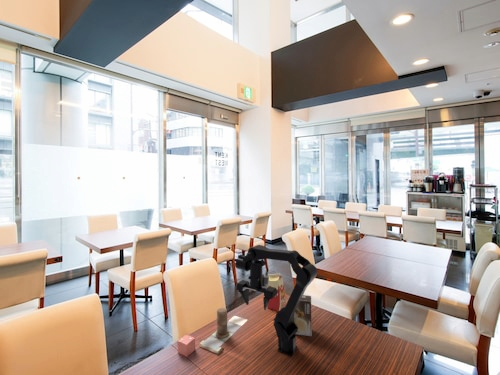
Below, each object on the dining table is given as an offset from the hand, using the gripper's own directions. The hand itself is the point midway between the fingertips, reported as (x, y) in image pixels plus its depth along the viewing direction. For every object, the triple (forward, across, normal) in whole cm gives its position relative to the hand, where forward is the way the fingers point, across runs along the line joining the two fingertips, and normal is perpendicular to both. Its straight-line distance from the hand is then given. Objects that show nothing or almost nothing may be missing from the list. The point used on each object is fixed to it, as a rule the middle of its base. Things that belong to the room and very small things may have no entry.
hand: (256, 307), depth 117 cm
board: (+13, +12, +6) cm, 19 cm away
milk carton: (+13, +2, -26) cm, 29 cm away
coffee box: (+13, -17, -13) cm, 25 cm away
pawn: (+12, +12, +9) cm, 19 cm away
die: (+13, +20, +24) cm, 34 cm away
